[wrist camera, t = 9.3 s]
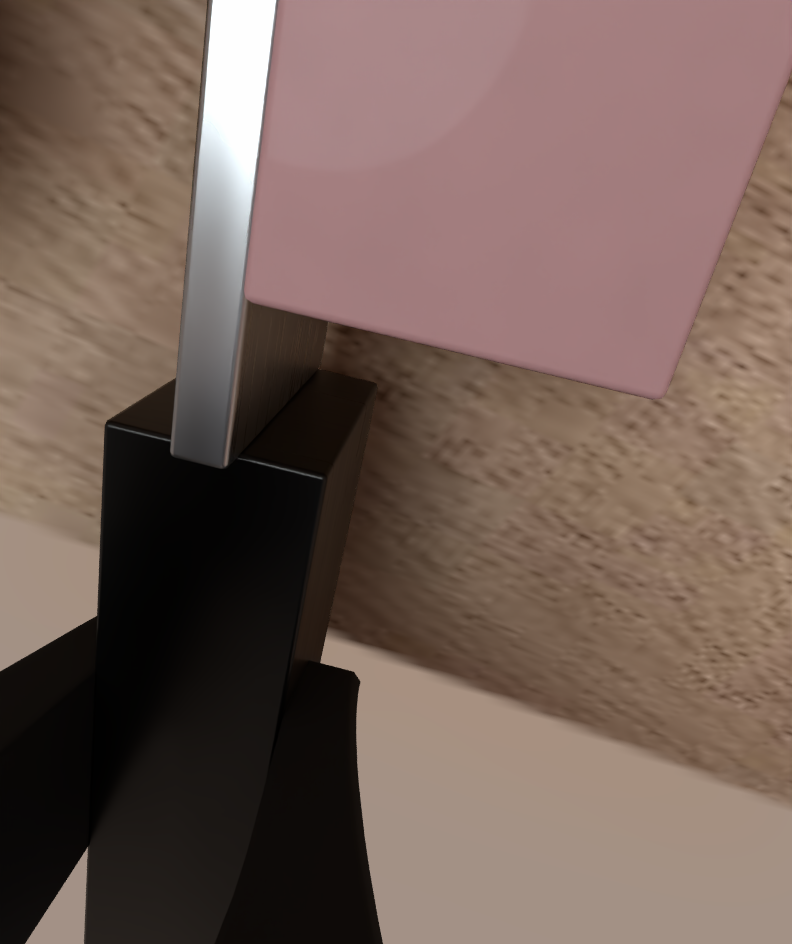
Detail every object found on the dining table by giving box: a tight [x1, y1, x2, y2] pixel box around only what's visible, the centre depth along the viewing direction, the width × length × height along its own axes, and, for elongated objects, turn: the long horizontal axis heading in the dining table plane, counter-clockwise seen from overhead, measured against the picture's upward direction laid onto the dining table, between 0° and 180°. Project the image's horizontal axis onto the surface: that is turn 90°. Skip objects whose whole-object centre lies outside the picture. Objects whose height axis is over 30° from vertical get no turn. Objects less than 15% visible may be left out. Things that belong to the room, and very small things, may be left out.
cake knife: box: [84, 0, 378, 944], centre depth 6 cm, size 20×2×3 cm, turn 168°
